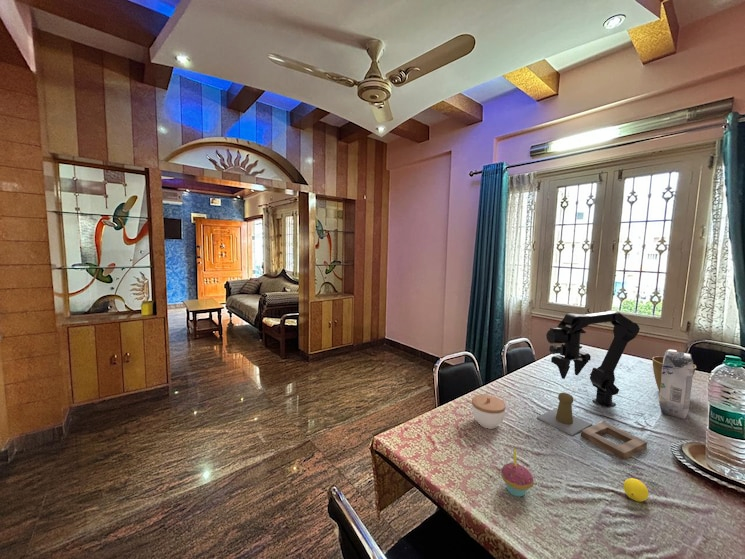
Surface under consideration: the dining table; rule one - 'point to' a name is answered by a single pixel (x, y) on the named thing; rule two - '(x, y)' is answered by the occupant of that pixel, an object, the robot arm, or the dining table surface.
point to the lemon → (635, 489)
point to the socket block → (621, 451)
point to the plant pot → (660, 369)
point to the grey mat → (569, 429)
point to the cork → (565, 409)
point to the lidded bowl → (488, 410)
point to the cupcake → (516, 478)
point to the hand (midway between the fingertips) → (569, 376)
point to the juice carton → (676, 383)
